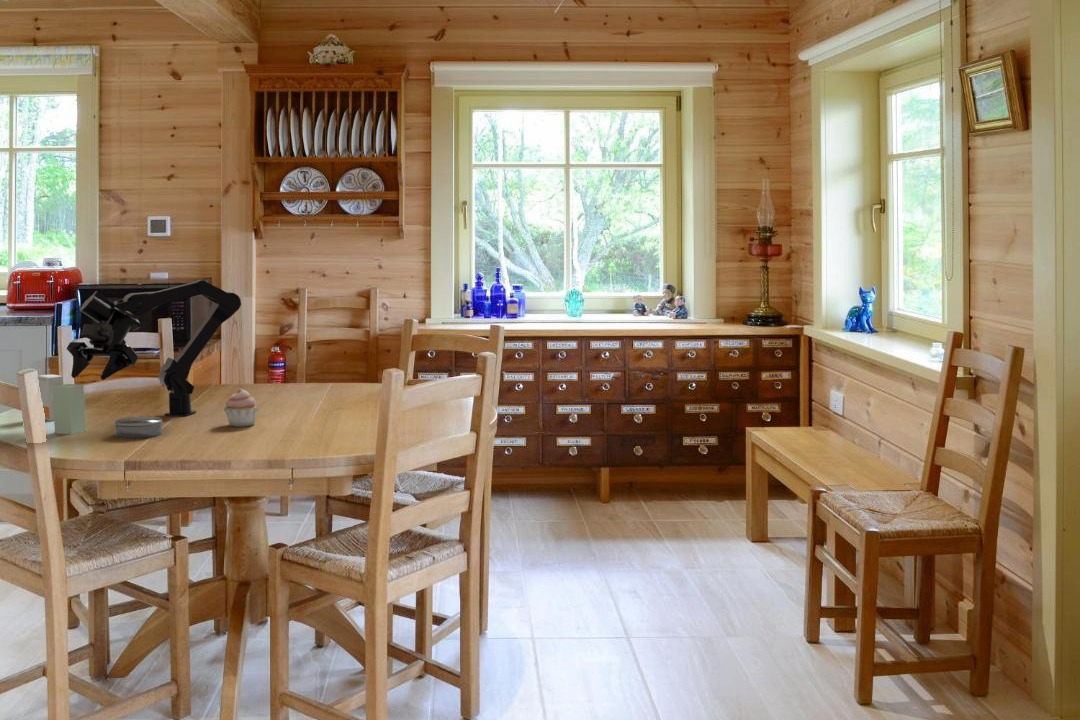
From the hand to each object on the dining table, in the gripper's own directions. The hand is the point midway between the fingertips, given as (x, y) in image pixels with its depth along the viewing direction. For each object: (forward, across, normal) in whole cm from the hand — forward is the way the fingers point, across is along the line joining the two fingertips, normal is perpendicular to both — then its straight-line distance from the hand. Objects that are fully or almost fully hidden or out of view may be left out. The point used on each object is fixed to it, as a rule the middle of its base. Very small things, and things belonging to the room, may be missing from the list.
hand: (87, 378), depth 263 cm
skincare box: (+5, -18, +14) cm, 23 cm away
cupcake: (-2, +35, +21) cm, 41 cm away
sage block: (+14, 0, +4) cm, 15 cm away
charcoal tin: (+12, +19, +6) cm, 23 cm away
